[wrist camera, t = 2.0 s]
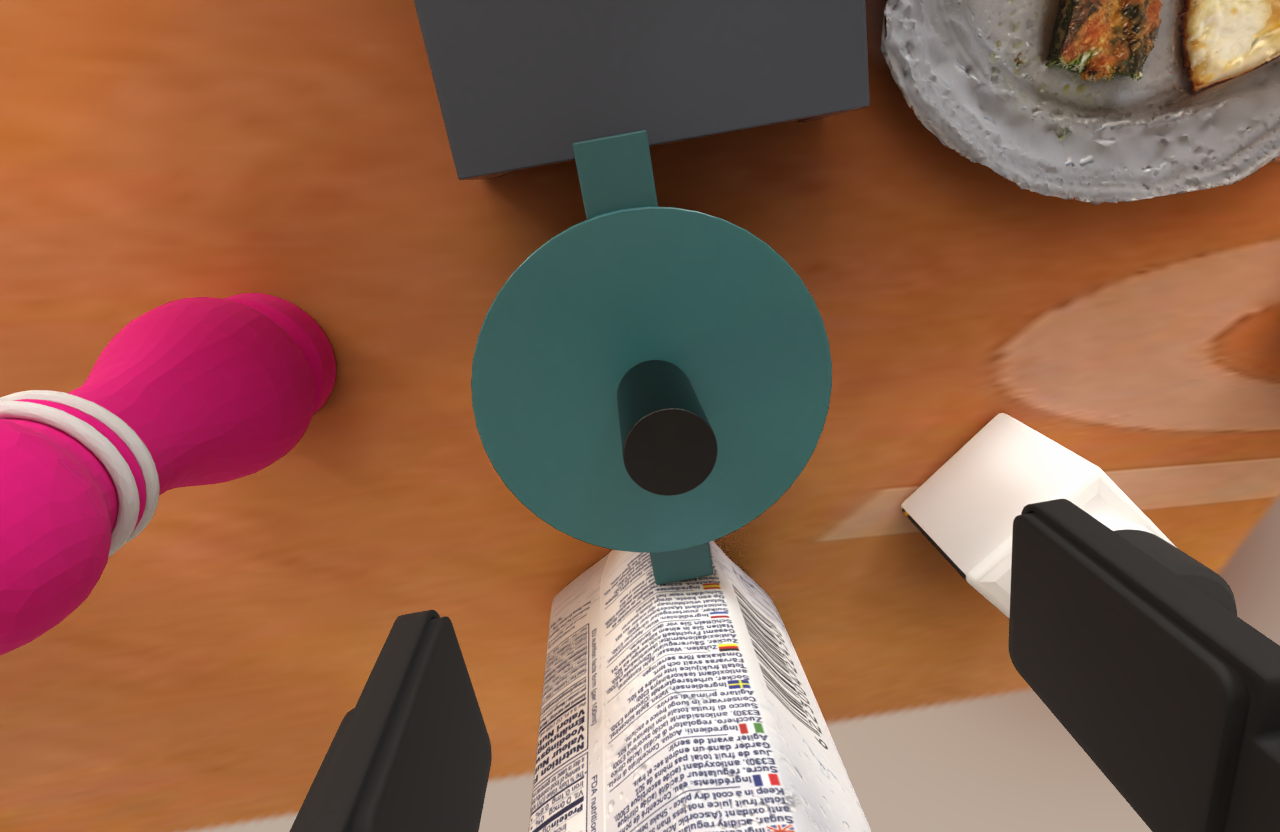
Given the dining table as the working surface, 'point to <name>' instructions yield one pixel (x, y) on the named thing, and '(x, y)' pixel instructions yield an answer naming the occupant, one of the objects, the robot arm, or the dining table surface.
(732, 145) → the dining table surface
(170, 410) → the pepper mill
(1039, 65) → the food plate
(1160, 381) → the dining table surface
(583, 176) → the pot
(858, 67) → the grey stepped block
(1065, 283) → the dining table surface
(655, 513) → the lid
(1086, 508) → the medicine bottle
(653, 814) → the juice carton
